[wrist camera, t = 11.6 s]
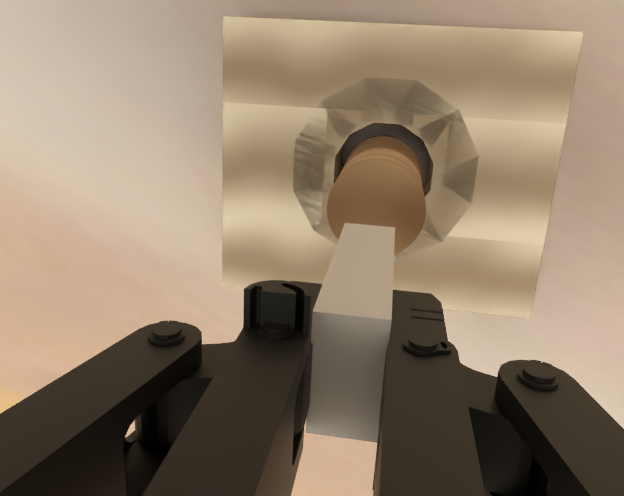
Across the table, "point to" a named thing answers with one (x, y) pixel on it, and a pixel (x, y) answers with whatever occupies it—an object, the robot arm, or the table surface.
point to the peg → (380, 190)
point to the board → (416, 118)
